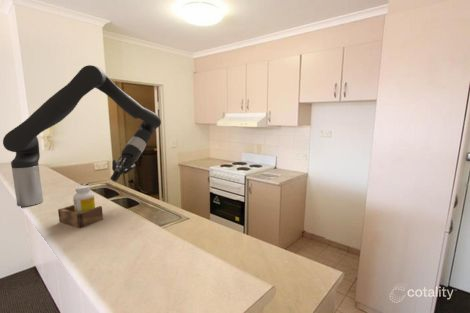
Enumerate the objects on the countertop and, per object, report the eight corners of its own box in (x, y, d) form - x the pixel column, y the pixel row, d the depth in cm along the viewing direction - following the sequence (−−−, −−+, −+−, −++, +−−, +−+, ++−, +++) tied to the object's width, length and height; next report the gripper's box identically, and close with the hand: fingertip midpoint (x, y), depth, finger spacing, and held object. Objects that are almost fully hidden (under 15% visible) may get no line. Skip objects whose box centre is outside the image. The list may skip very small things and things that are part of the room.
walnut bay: (59, 222, 90) (57, 209, 89) (82, 214, 98) (81, 202, 97) (80, 228, 85) (78, 214, 84) (103, 219, 93) (101, 206, 92)
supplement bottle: (100, 216, 96) (97, 184, 94) (88, 223, 89) (84, 189, 87) (84, 215, 96) (81, 184, 95) (71, 222, 90) (67, 189, 88)
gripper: (118, 142, 112) (96, 174, 103) (140, 144, 107) (118, 177, 98) (128, 152, 118) (108, 183, 109) (149, 154, 112) (129, 186, 103)
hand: (112, 180), depth 103 cm, fingers closed
